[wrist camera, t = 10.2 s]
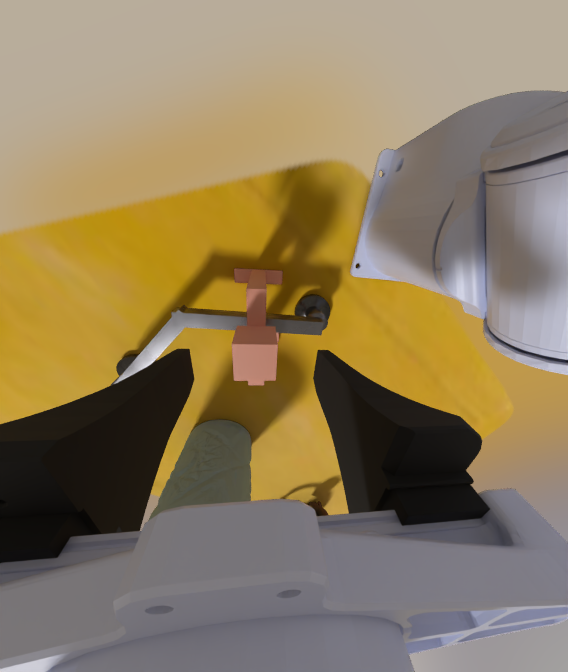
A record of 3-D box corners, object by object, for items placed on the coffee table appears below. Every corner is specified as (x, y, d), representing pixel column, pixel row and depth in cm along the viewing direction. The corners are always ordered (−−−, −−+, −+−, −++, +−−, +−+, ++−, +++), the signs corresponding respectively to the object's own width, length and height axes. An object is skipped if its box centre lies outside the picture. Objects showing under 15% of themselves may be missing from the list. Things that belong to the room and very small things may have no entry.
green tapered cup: (249, 463, 32) (243, 579, 21) (181, 461, 30) (136, 586, 19) (260, 417, 28) (258, 533, 17) (180, 411, 26) (123, 536, 15)
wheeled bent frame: (93, 275, 18) (46, 287, 14) (331, 296, 21) (347, 310, 17) (124, 381, 23) (95, 411, 19) (312, 385, 26) (321, 412, 22)
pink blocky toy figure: (282, 270, 19) (298, 302, 10) (278, 340, 23) (288, 409, 14) (234, 268, 19) (209, 299, 10) (237, 339, 22) (220, 411, 13)
